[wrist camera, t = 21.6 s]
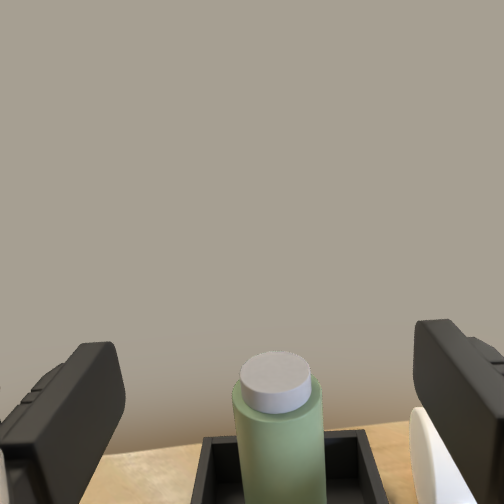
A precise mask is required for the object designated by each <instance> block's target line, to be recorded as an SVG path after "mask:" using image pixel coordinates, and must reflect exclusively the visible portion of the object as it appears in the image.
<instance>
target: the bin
mask: <svg viewBox="0 0 504 504" xmlns="http://www.w3.org/2000/svg"><path fill="white" fill-rule="evenodd" d="M324 452H325V475H326V498H327V504H389V503H388V500H387V497H386V493H385V490H384V487H383V484H382V481H381V478H380V475H379V472H378V469H377V466H376V463H375V460H374V457H373V454H372V451H371V448H370V444H369V441H368V438H367V435H366V432H365V430H364V429H362V430H341V431H324ZM191 504H245V498H244V490H243V482H242V474H241V466H240V458H239V450H238V442H237V436H220V437H204V438H203V443H202V448H201V453H200V459H199V464H198V469H197V474H196V479H195V484H194V489H193V494H192V499H191Z"/></svg>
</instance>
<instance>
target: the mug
mask: <svg viewBox="0 0 504 504" xmlns="http://www.w3.org/2000/svg"><path fill="white" fill-rule="evenodd" d="M409 445H410V458H411V467H412V474H413V480H414V486H415V491H416V495H417V499H418V503H419V504H477V502H476V500H475V499H474V497H473V495H472V493H471V491H470V490H469V488H468V486H467V484H466V482H465V481H464V479H463V477H462V475H461V473H460V472H459V470H458V468H457V466H456V465H455V463H454V461H453V459H452V457H451V456H450V454H449V452H448V450H447V448H446V447H445V445H444V443H443V441H442V439H441V438H440V436H439V434H438V432H437V430H436V429H435V427H434V425H433V423H432V421H431V420H430V418H429V416H428V414H427V412H426V411H425V409H424V407H415V408H414V409H413V410H412V412H411V415H410V422H409Z"/></svg>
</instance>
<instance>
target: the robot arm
mask: <svg viewBox="0 0 504 504" xmlns="http://www.w3.org/2000/svg"><path fill="white" fill-rule="evenodd" d="M413 380H414V386H415V390H416V393H417V395H418V398H419V400H420V401H421V403H422V405H423V407H424V409H425V411H426V412H427V414H428V416H429V418H430V420H431V421H432V423H433V425H434V427H435V429H436V430H437V432H438V434H439V436H440V438H441V439H442V441H443V443H444V445H445V447H446V448H447V450H448V452H449V454H450V456H451V457H452V459H453V461H454V463H455V465H456V466H457V468H458V470H459V472H460V473H461V475H462V477H463V479H464V481H465V482H466V484H467V486H468V488H469V490H470V491H471V493H472V495H473V497H474V499H475V500H476V502H477V504H504V357H503V356H502V355H501V354H500V353H499V352H498V351H497V350H496V349H495V348H494V347H492V346H490V345H488V344H486V343H484V342H483V341H481V340H479V339H477V338H475V337H466V336H465V335H464V334H463V333H462V332H461V331H460V330H459V328H458V327H457V326H456V325H455V324H454V323H453V322H452V321H451V320H449V319H439V320H423V321H417V323H416V325H415V336H414V360H413ZM124 408H125V388H124V384H123V380H122V375H121V370H120V366H119V362H118V357H117V353H116V349H115V346H114V344H113V343H112V342H94V343H82V344H80V345H79V346H78V348H77V349H76V350H75V351H74V352H73V354H72V355H71V356H70V357H69V358H68V360H67V361H66V362H65V363H61V364H60V365H58V366H57V367H55V368H54V369H52V370H51V371H49V372H48V373H46V374H45V375H44V376H43V377H42V378H41V379H40V380H39V381H38V382H37V383H36V385H35V386H34V387H33V388H32V389H31V393H28V394H27V395H26V396H25V397H24V398H23V399H22V401H21V403H20V405H17V406H16V407H15V408H14V410H13V411H12V412H11V413H10V414H9V415H8V416H7V418H6V419H5V420H4V421H3V422H2V423H1V424H0V504H79V502H80V500H81V498H82V496H83V494H84V492H85V490H86V488H87V486H88V484H89V482H90V480H91V478H92V476H93V474H94V472H95V470H96V468H97V466H98V464H99V461H100V459H101V457H102V455H103V453H104V451H105V449H106V447H107V445H108V443H109V441H110V439H111V437H112V435H113V433H114V431H115V429H116V427H117V425H118V423H119V421H120V419H121V417H122V414H123V411H124Z"/></svg>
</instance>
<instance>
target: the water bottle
mask: <svg viewBox="0 0 504 504" xmlns="http://www.w3.org/2000/svg"><path fill="white" fill-rule="evenodd" d="M239 376H240V379H239V380H238V381H237V383H236V384H235V386H234V388H233V391H232V403H233V410H234V419H235V426H236V434H237V442H238V450H239V458H240V466H241V474H242V482H243V490H244V498H245V504H327V498H326V475H325V452H324V428H323V407H322V389H321V386H320V384H319V382H318V380H317V379H316V378H315V377H314V376H313V375H312V374H311V370H310V366H309V364H308V363H307V362H306V360H304V359H303V358H302V357H300V356H298V355H296V354H293V353H290V352H284V351H271V352H265V353H261V354H258V355H256V356H254V357H252V358H250V359H249V360H247V361H246V362H245V363H244V364H243V366H242V367H241V370H240V374H239Z"/></svg>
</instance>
